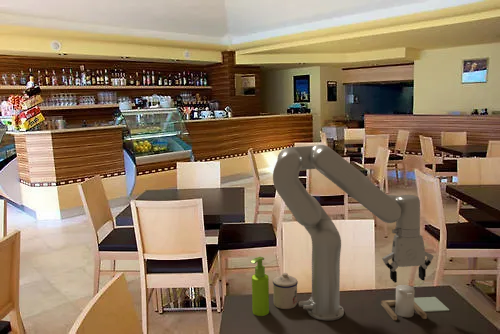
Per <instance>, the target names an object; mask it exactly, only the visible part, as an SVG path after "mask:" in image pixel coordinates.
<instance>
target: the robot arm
mask: <svg viewBox="0 0 500 334" xmlns="http://www.w3.org/2000/svg"><path fill="white" fill-rule="evenodd" d="M303 170H304V171H305V170H306V171H307V170H317V172H319V173H320V174H322V176H324V177H325V178H326V179H327V180H329V181H330V182H331V183H333V184H334V185H336V186H337V187H338V188H339V189H340V190H342V191H343V192H344V193H345V194H347V196H349V197H350V198H352V199H354V200H355V201H357V202H358V203H359V204H360V205H361V206H363V207H364V208H365V209H366V210H367V211H369V212H371V213H372V214H373V215H374V216H375V217H377V219H379V220H381V221H382V222H383V223H385V224H386V223H387V224H392V223H395V226H394V227H395V228H394V229H392V230H391V233H392V234H395V235H393V240H392V245H391V252H390V253H389V254H387V255H385V256H383V257H382V258H381V259H382V261H383V263H384V265H385V266H386V268H388V269H389V277H390V280H391V281H392V282H393V283H396V284H397V283H398V280H397V279H398V272H397V271H396V270H397V269H398V268H399V267H401V268H404V267H406V268H408V267H418V278H419V279H420V280H421V281H425V279H426V277H427V276H426V272H427V270H428V267H429V266H430V265H431V264H432V261H433V259H434V255H433V254H432V253H429V252H427V251H426V250H425V242H424V238H423V235H421V200H420V198H419V197H418V196H417V195H415V194H414V195H413V194H401V195H391V194H387V193H385V191H383V190H381V188H379V187H378V186H377V185H376V184H374V183H373V182H372V181H371V180H370V179H369V178H368V177H367V176H366V175H365V174H364V173H363V172H361V170H359V169H358V168H356V167H355V165H352V163H350V162H349V161H347V160H346V159H345V158H344V157H342V156H341V155H340V154H339V153H337V152H336V151H335V150H333V148H331V147H330V146H328V145H325V144H317V145H307V146H304V145H303V146H290V147H289V146H288V147H285V148H284V149H282V150H281V151H280V152H278V156H277V160H276V163H275V165H274V168H273V171H272V172H273V173H272V180H273V181H272V182H273V186H274V189H275V191H276V192H277V194H278V195H279V197H280V198H281V200H282V201H283V203H284V204H285V206H286V207H287V208H288V209H289V211H290V212H291V214H292V216H293V217H294V219H295V220H296V222H297V223H298V224H300V225H301V226H302V227H304V229H305V230H306V231H307V233H308V234H309V236H310V240H311V296H309V299H307V300H299V301H298V300H297V306H298V307H302V308H303V310H306V311H307V314H308V315H309V316H311V317H312V318H314V319H317V320H320V321H324V322H325V321H330V322H331V321H336V320H339V319H341V318H342V317H343V316H344V314H345V309H344V307H343V306H342V305H340V290H341V288H340V286H341V285H340V284H341V283H340V279H341V278H340V276H341V275H340V274H341V273H340V272H341V271H340V268H341V264H340V263H341V251H342V239H341V235H340V232H339V230H338V229H337V227H336V225H335V223H334V222H333V221H332V218H330V216H329V215H328V213H327V212H326V211H325V209H324V207H322V205H321V204H320V202H319V201H318V200H317V198H316V197H314V196H313V195H311V194H310V193H309V192H308V190H307V189H306V188H305V185H303V183H302V182H301V180H300V177H299V176H300V175H299V174H300V171H303ZM390 260H391V263H390V262H389V261H390Z"/></svg>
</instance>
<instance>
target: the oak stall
mask: <svg viewBox="0 0 500 334" xmlns="http://www.w3.org/2000/svg"><path fill="white" fill-rule="evenodd" d="M395 304H396V299H388V300H387V299H386V300H381V301H380V305H381V306H382V307H383V309H384V310H385V311H386V312H387V314H388V315H389V317H390V318H391V319H392V320H393V321H397V320H398V315H397V314H396V313H395V310H393V309H392V308H391V307H393V306H395ZM415 311H416V313H417V314H418V315H419V316H420V317H421V319H423V320H426V319H428V317H427V316H428V314H427V312H424V311H423V310H422V309H421V308H420V307H419V306H418V305H417V304H416V303H415V302H414V312H415Z"/></svg>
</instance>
